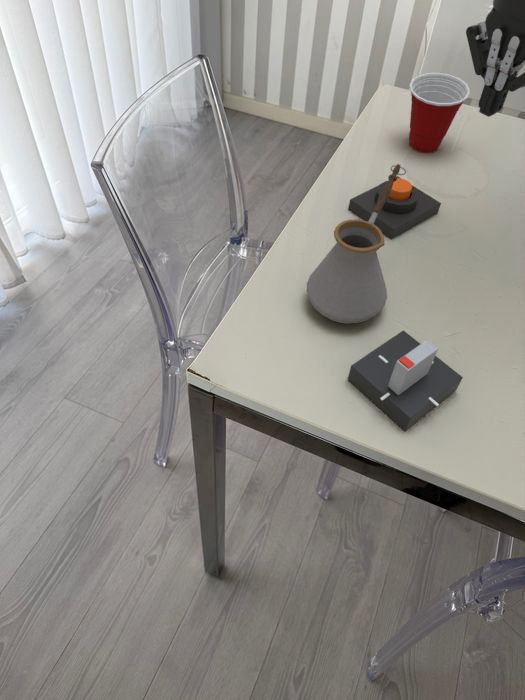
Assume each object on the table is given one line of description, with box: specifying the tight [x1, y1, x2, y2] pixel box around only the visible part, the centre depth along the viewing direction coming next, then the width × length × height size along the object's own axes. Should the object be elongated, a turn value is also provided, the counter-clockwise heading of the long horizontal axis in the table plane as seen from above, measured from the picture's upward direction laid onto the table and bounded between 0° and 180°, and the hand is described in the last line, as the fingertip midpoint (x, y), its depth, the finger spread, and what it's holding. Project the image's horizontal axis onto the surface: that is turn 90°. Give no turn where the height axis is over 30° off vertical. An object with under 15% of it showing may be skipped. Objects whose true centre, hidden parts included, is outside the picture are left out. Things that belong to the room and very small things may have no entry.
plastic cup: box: [408, 72, 471, 154], centre depth 107 cm, size 11×11×12 cm
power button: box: [388, 177, 413, 201], centre depth 94 cm, size 4×4×2 cm
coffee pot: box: [306, 163, 407, 324], centre depth 80 cm, size 21×12×15 cm, turn 153°
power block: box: [347, 175, 442, 240], centre depth 96 cm, size 12×10×4 cm
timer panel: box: [347, 329, 463, 432], centre depth 72 cm, size 11×11×3 cm
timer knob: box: [388, 339, 439, 395], centre depth 69 cm, size 6×2×5 cm, turn 129°
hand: (487, 113), depth 77 cm, fingers closed
